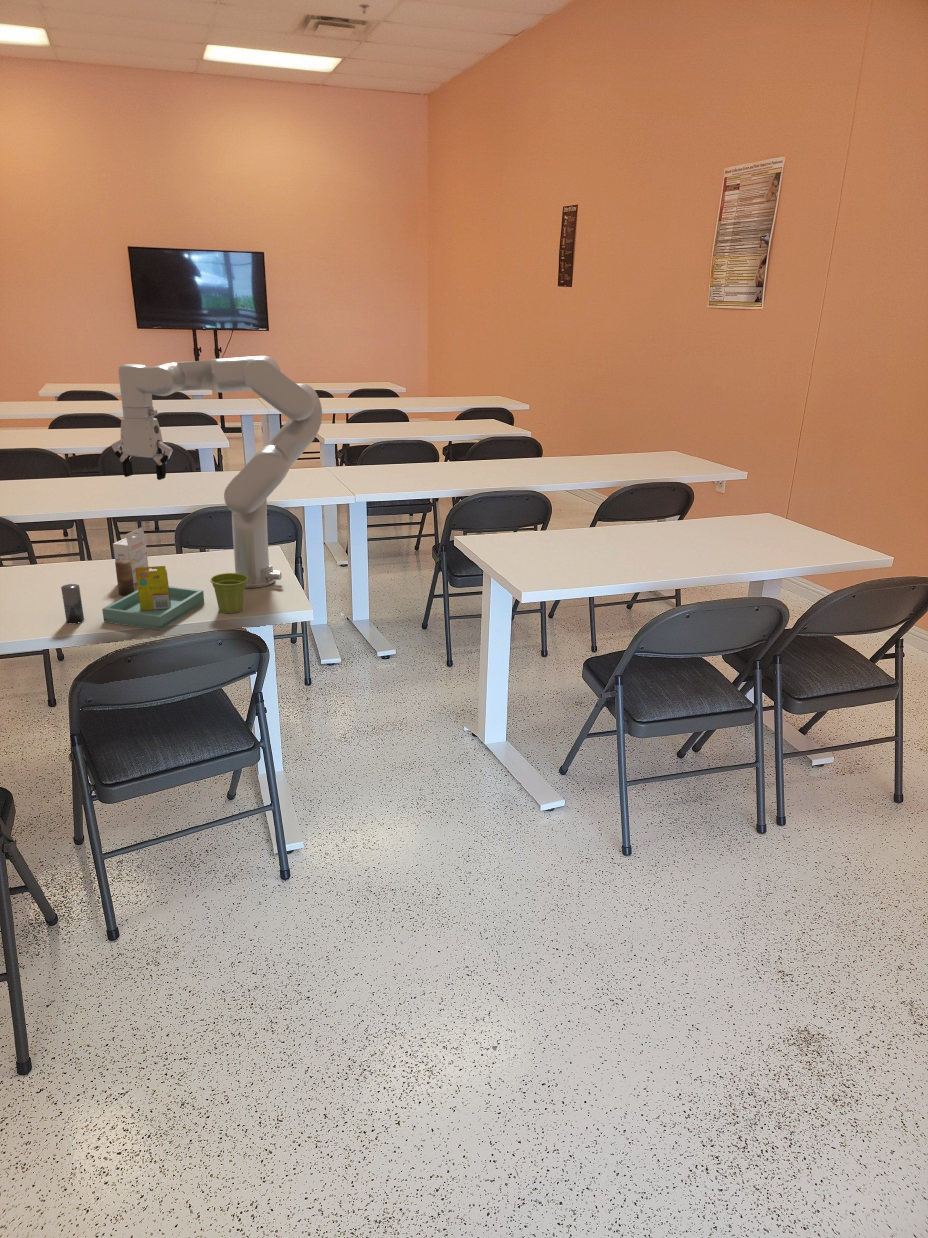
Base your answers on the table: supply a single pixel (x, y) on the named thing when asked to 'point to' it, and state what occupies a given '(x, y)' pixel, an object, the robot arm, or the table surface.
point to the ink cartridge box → (132, 550)
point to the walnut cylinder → (124, 577)
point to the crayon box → (153, 588)
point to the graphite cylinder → (72, 603)
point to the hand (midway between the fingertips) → (145, 477)
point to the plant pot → (229, 591)
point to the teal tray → (159, 619)
